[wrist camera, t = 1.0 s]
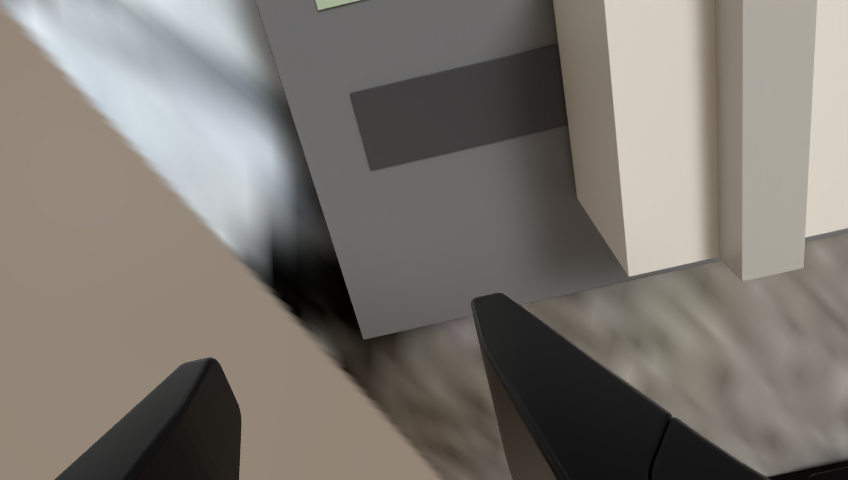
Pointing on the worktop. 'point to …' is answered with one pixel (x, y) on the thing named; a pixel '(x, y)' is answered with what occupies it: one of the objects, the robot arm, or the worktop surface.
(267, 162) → the worktop surface
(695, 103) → the switch handle
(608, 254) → the switch panel
